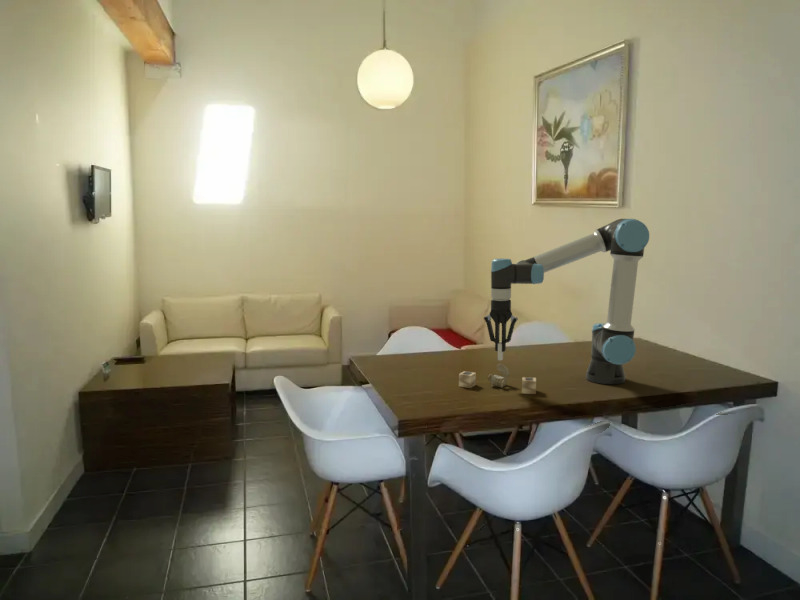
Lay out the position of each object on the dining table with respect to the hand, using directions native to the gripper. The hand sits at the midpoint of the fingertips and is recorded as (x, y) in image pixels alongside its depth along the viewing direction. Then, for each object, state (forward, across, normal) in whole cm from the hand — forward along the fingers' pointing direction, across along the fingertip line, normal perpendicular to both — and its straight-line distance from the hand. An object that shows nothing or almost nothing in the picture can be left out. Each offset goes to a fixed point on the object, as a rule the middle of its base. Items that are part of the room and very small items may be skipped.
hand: (500, 359), depth 241 cm
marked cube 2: (+11, -12, +3) cm, 16 cm away
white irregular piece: (+11, 0, 0) cm, 11 cm away
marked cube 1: (+11, +12, +3) cm, 17 cm away
